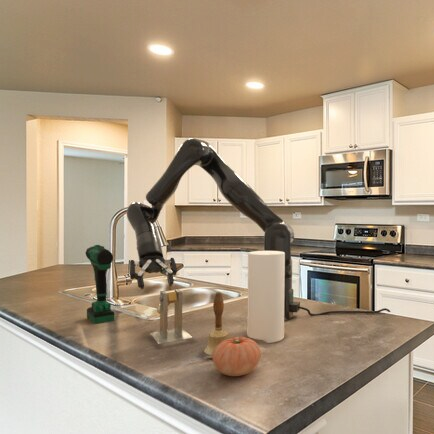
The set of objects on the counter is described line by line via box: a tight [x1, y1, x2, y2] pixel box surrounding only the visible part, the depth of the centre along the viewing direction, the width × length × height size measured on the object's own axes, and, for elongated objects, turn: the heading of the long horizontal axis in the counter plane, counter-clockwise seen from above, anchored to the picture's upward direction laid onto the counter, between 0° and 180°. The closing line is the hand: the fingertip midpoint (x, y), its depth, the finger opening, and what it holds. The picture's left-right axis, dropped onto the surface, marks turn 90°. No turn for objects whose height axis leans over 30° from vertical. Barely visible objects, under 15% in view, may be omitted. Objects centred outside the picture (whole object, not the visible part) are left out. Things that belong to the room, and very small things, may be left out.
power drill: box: [85, 244, 115, 325], centre depth 132 cm, size 6×29×25 cm, turn 41°
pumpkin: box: [212, 336, 262, 377], centre depth 87 cm, size 11×11×8 cm
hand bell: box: [203, 291, 229, 361], centre depth 99 cm, size 8×8×16 cm
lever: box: [156, 291, 177, 315], centre depth 113 cm, size 14×3×3 cm, turn 37°
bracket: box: [149, 288, 193, 345], centre depth 109 cm, size 11×9×14 cm
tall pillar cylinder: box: [246, 250, 285, 344], centre depth 112 cm, size 11×11×25 cm
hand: (157, 286), depth 123 cm, fingers open, 8 cm apart
